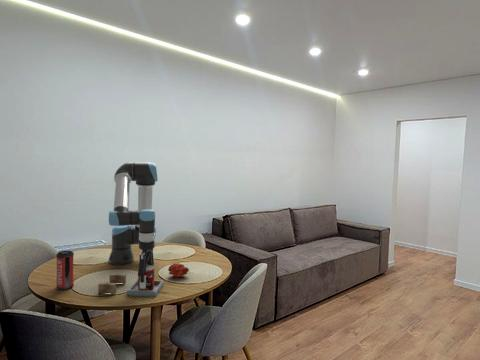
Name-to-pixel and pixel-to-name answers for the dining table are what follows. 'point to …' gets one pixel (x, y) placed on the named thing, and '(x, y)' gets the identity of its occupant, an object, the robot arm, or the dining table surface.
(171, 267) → the dragon fruit
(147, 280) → the canned food
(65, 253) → the speaker
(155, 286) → the tray
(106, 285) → the tan block
